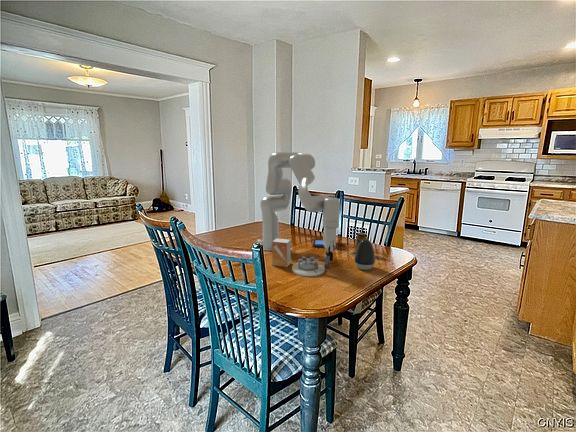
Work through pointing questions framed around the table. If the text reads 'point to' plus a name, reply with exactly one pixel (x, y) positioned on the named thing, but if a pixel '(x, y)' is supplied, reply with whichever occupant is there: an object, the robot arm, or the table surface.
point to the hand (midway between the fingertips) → (329, 260)
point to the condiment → (360, 237)
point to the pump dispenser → (364, 255)
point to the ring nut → (312, 263)
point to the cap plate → (308, 273)
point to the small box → (281, 252)
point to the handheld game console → (318, 243)
